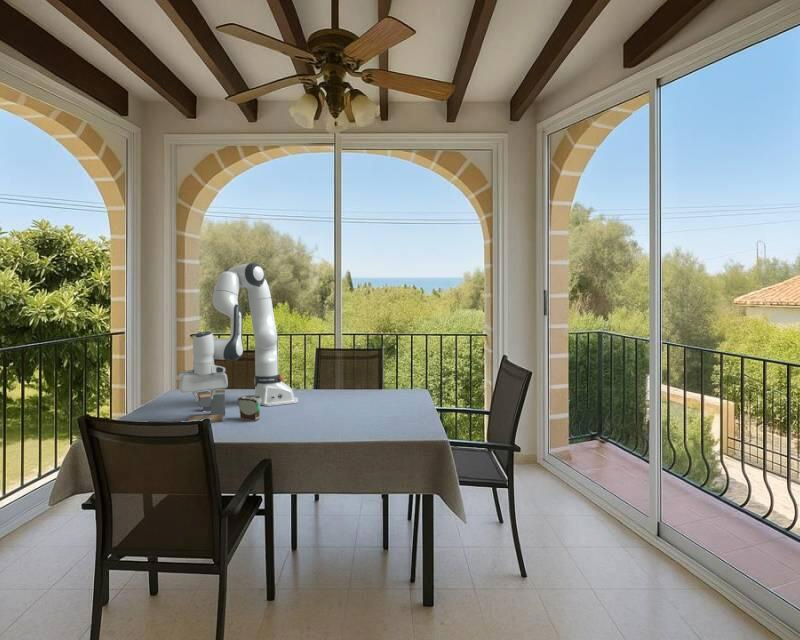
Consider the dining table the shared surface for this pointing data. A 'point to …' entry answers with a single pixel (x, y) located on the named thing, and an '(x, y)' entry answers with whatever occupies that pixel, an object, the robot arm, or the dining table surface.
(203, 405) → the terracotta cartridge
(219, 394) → the grey upright block
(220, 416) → the pad
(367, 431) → the dining table surface
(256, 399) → the food container
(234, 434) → the dining table surface
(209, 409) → the grey cartridge
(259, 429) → the dining table surface
